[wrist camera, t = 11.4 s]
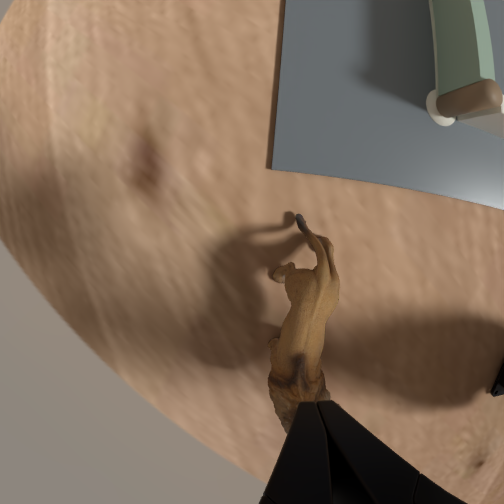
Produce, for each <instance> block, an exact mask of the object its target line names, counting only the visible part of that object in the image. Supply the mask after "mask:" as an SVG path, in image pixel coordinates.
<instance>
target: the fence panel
mask: <svg viewBox="0 0 504 504" xmlns="http://www.w3.org/2000/svg"><path fill="white" fill-rule="evenodd" d="M432 3H433V11H434V20H435V30H436V42H437V58H438V96H439V97H438V98H437V100H436V107H437V110H438V112H439V113H440V114H441V115H442V116H443V117H445V118H451V117H455V116H459V115H464V114H468V113H472V112H477V111H481V110H486V109H490V108H495V107H499V106H501V104H502V102H503V95H502V91H501V89H500V87H499V85H498V84H497V83H496V82H495V72H494V61H493V53H492V45H491V38H490V32H489V26H488V20H487V15H486V10H485V5H484V1H483V0H432Z"/></svg>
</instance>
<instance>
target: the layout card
mask: <svg viewBox="0 0 504 504" xmlns="http://www.w3.org/2000/svg"><path fill="white" fill-rule="evenodd" d="M483 1H484V5H485V10H486V15H487V20H488V26H489V32H490V38H491V45H492V53H493V61H494V72H495V82H496V83H497V84H498V85H499V87H500V89H501V91H502V94H503V95H504V0H483ZM438 97H439V96H438V58H437V42H436V30H435V20H434V11H433V3H432V0H286V4H285V17H284V29H283V42H282V54H281V67H280V79H279V91H278V102H277V114H276V125H275V136H274V148H273V159H272V170H280V171H289V172H298V173H307V174H315V175H323V176H331V177H338V178H345V179H352V180H359V181H365V182H371V183H378V184H384V185H390V186H395V187H401V188H406V189H412V190H417V191H422V192H427V193H432V194H437V195H442V196H447V197H452V198H456V199H461V200H465V201H469V202H474V203H478V204H482V205H486V206H490V207H494V208H498V209H502V210H504V139H503V138H501V137H498V136H496V135H493V134H491V133H488V132H486V131H483V130H481V129H478V128H475V127H473V126H470V125H467V124H464V123H462V122H459V121H457V120H458V116H455V117H451V118H445V117H443V116H442V115H441V114H440V113H439V112H438V110H437V107H436V100H437V98H438Z"/></svg>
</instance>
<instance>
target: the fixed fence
mask: <svg viewBox="0 0 504 504" xmlns="http://www.w3.org/2000/svg"><path fill="white" fill-rule="evenodd" d="M502 95H503V94H502ZM457 121H459V122H462V123H464V124H467V125H470V126H473V127H475V128H478V129H481V130H483V131H486V132H488V133H491V134H493V135H496V136H498V137H501V138H503V139H504V95H503V102H502V104H501V106H499V107H495V108H490V109H486V110H481V111H477V112H472V113H468V114H464V115H459V116H458V120H457Z"/></svg>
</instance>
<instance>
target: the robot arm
mask: <svg viewBox="0 0 504 504" xmlns="http://www.w3.org/2000/svg"><path fill="white" fill-rule="evenodd" d="M503 394H504V364H503V366H502V368H501V371H500V373H499V375H498V378H497V380H496V382H495V384H494V386H493V389H492V391H491V395H492V396H493V397H495V396H499V395H503ZM419 474H420V472H419V471H418V470H417V469H415V468H414V467H413V466H412V465H410V464H409V463H408V462H407V461H405V460H404V459H403V458H402V457H400V456H399V455H398V454H397V453H395V452H394V451H393V450H392V449H390V448H389V447H388V446H387V445H385V444H384V443H383V442H382V441H380V440H379V439H378V438H377V437H376V436H374V435H373V434H372V433H371V432H370V431H368V430H367V429H366V428H365V427H364V426H362V425H361V424H360V423H359V422H358V421H356V420H355V419H354V418H353V417H352V416H351V415H349V414H348V413H347V412H346V411H345V410H343V409H342V408H341V407H340V406H339V405H338V404H337V403H335V402H334V401H333V400H320V401H317V402H314V401H302V402H299V404H298V407H297V409H296V412H295V415H294V418H293V421H292V423H291V426H290V429H289V431H288V434H287V437H286V439H285V442H284V444H283V447H282V450H281V452H280V455H279V457H278V460H277V462H276V465H275V467H274V470H273V472H272V474H271V477H270V479H269V482H268V484H267V486H266V489H265V491H264V493H263V496H262V497H261V499H260V502H259V504H467V503H466V502H464V501H462V500H460V499H459V498H457V497H455V496H454V495H452V494H450V493H449V492H447V491H445V490H444V489H443V488H441V487H440V486H438V485H437V484H435V483H434V482H433V481H431V480H430V479H429V478H427V477H426V476H425V475H423V474H420V475H419Z"/></svg>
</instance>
